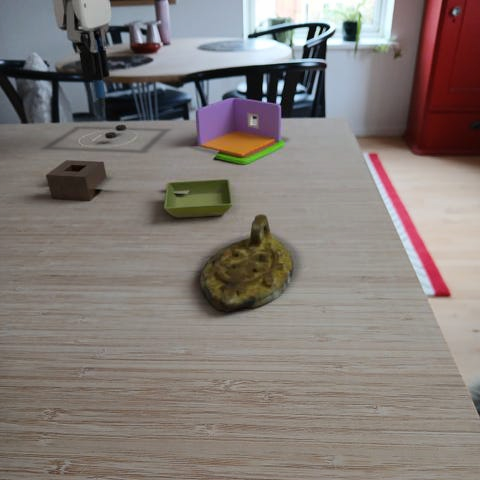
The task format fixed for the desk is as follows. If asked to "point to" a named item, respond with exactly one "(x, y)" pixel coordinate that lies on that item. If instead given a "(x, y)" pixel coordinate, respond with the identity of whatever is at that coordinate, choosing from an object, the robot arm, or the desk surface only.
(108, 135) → the dot
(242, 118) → the miniature room corner
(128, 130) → the ring
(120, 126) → the dot
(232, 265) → the seal
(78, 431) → the desk surface
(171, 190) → the green rectangular tray
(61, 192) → the stand
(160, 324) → the desk surface
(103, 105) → the blue rod
